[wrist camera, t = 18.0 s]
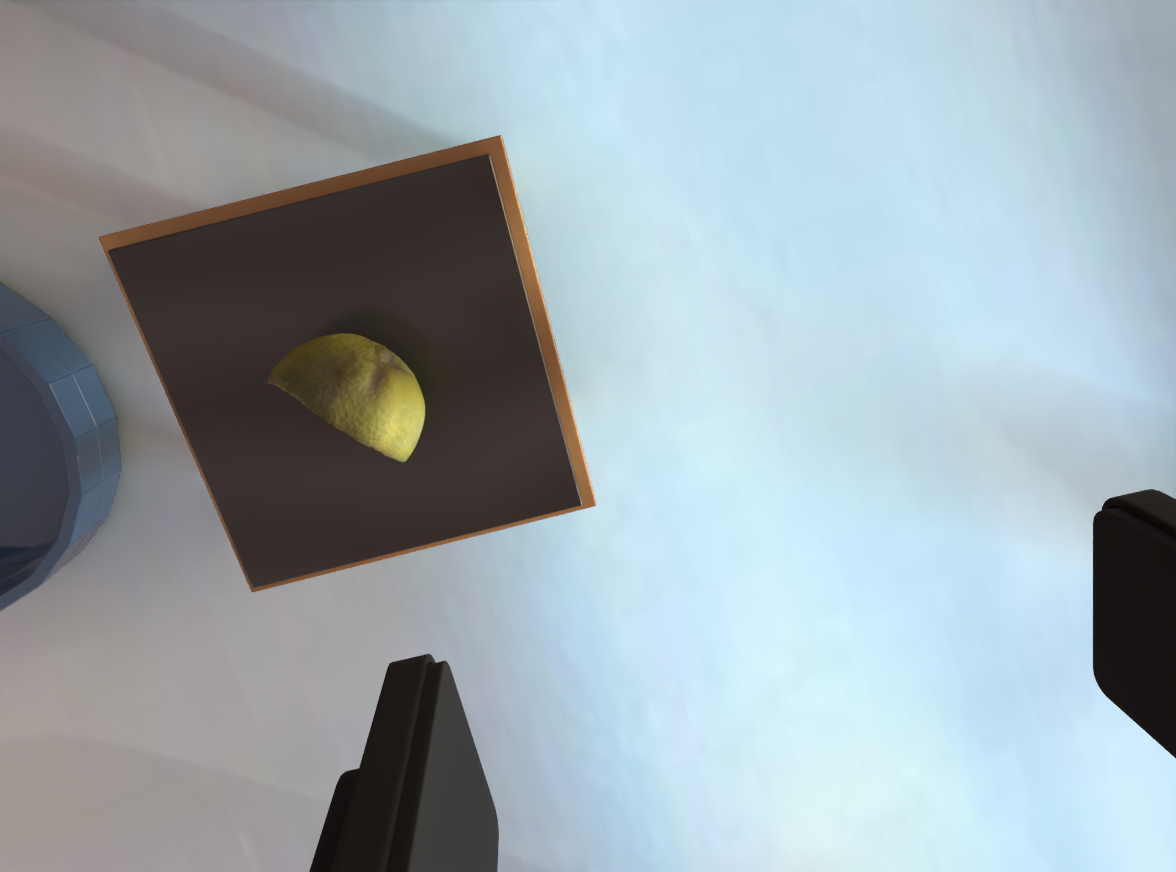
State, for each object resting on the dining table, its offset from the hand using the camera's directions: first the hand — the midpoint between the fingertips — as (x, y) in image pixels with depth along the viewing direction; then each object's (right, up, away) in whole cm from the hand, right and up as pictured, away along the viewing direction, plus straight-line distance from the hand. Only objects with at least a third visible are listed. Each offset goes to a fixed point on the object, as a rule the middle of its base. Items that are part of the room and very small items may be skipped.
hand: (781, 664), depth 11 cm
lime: (-11, +5, +17) cm, 21 cm away
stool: (-11, +8, +26) cm, 29 cm away
